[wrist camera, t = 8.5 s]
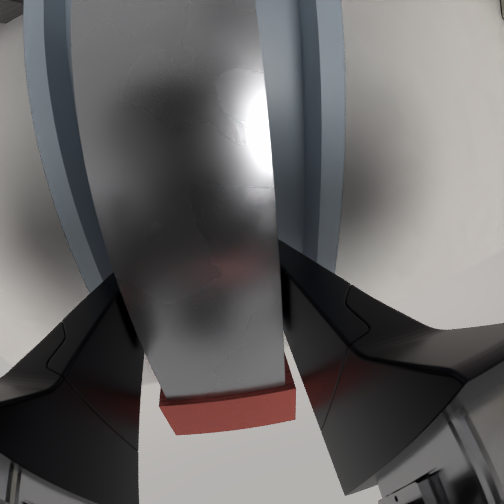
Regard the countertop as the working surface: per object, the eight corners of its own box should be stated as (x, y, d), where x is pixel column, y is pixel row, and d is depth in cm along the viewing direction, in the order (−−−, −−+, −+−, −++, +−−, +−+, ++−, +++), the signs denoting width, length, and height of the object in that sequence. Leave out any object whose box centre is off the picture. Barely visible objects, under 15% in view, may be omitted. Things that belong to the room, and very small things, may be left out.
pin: (239, -24, 6) (258, -88, 3) (274, 348, 13) (295, 419, 10) (108, -2, 6) (62, -49, 3) (179, 361, 13) (176, 435, 9)
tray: (299, -94, 5) (319, -120, 3) (311, 287, 15) (327, 322, 13) (60, -60, 4) (34, -78, 2) (127, 312, 14) (119, 349, 12)
